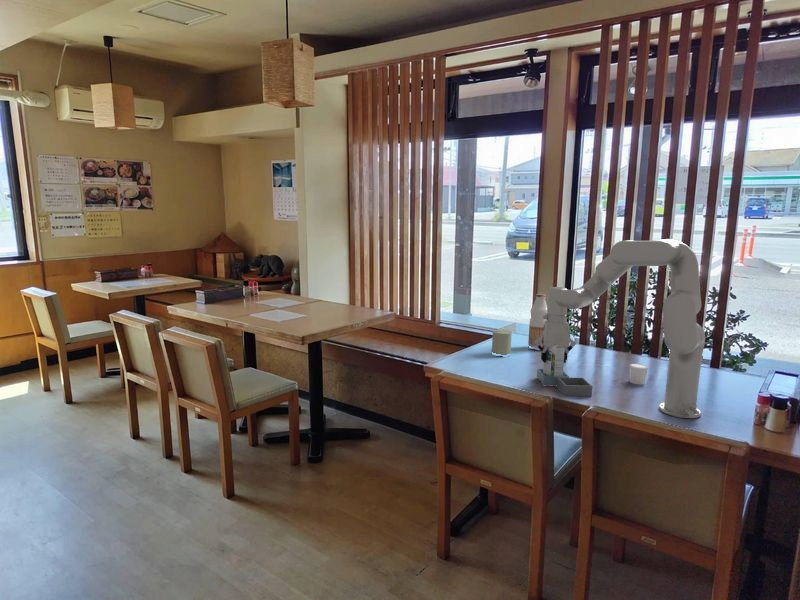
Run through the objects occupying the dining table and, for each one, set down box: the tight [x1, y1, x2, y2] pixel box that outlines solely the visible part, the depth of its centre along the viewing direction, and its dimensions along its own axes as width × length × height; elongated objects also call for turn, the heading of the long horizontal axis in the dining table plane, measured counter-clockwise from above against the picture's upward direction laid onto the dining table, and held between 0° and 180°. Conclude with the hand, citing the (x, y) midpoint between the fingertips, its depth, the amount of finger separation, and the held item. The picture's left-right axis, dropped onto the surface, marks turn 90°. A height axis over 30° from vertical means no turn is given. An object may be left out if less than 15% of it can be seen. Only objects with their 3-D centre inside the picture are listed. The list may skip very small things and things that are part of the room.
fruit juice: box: [527, 293, 548, 348], centre depth 255 cm, size 9×9×28 cm
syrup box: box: [542, 345, 565, 376], centre depth 202 cm, size 6×6×14 cm
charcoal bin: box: [556, 377, 593, 397], centre depth 192 cm, size 10×10×4 cm
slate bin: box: [536, 368, 570, 386], centre depth 203 cm, size 10×10×4 cm
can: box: [491, 329, 513, 355], centre depth 243 cm, size 9×9×12 cm
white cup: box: [628, 363, 649, 386], centre depth 205 cm, size 7×7×7 cm
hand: (553, 361), depth 202 cm, fingers closed on syrup box, 7 cm apart
